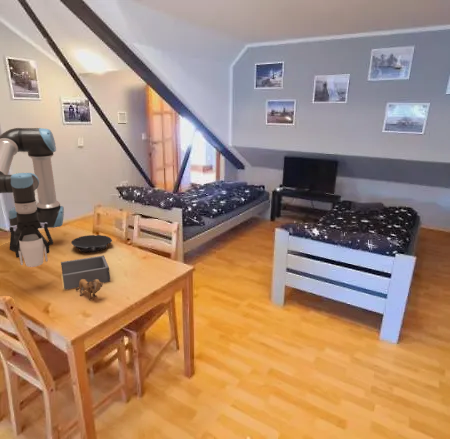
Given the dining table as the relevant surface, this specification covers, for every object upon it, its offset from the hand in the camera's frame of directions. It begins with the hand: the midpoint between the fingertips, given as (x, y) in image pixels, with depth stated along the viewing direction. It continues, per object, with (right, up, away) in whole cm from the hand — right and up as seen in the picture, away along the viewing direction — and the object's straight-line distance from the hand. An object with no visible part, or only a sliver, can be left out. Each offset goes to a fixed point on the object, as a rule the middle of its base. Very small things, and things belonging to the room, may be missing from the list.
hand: (34, 261), depth 144 cm
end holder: (+17, -9, +13) cm, 23 cm away
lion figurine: (+24, -15, -1) cm, 28 cm away
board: (+7, +2, +46) cm, 47 cm away
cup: (0, -1, 0) cm, 1 cm away
